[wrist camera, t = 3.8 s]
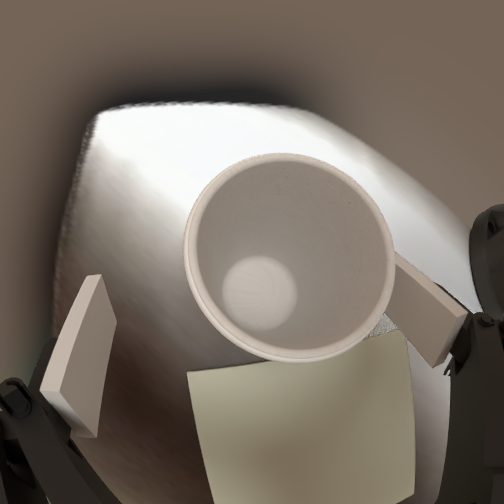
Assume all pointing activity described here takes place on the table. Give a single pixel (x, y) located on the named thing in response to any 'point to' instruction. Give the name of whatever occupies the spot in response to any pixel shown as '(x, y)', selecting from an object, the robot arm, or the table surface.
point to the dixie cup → (289, 258)
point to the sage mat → (310, 428)
